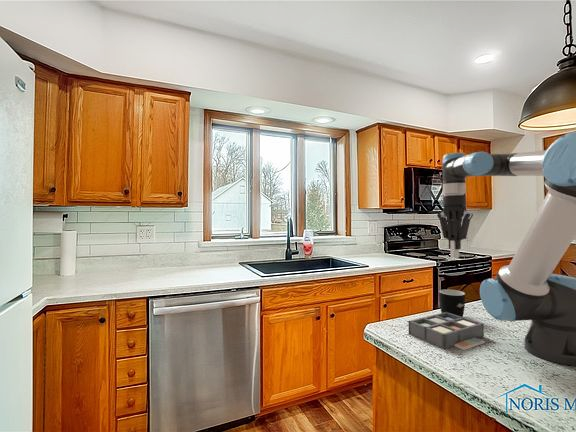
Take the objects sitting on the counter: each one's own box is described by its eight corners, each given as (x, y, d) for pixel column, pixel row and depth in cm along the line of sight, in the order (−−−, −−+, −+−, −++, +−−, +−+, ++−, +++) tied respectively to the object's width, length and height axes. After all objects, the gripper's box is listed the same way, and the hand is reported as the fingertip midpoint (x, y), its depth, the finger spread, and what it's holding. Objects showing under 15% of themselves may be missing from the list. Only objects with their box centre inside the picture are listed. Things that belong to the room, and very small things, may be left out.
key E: (436, 333, 101) (436, 327, 101) (426, 335, 99) (426, 329, 99) (424, 328, 105) (424, 322, 105) (415, 330, 103) (415, 325, 103)
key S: (452, 337, 95) (452, 330, 95) (443, 339, 93) (443, 333, 93) (440, 332, 99) (440, 326, 99) (430, 334, 97) (430, 328, 97)
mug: (458, 323, 112) (458, 296, 112) (435, 317, 119) (434, 291, 119) (473, 317, 119) (472, 291, 119) (449, 311, 126) (449, 287, 126)
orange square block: (464, 335, 98) (464, 329, 98) (455, 338, 96) (455, 332, 96) (451, 331, 102) (451, 325, 102) (443, 333, 100) (443, 327, 100)
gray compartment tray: (493, 340, 97) (493, 326, 97) (454, 353, 89) (453, 338, 89) (446, 323, 112) (446, 312, 112) (408, 333, 103) (408, 321, 103)
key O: (476, 330, 101) (476, 324, 101) (467, 332, 99) (467, 326, 99) (463, 325, 105) (463, 320, 105) (454, 328, 103) (454, 322, 103)
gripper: (477, 194, 109) (478, 259, 109) (444, 196, 121) (445, 255, 121) (464, 193, 106) (465, 261, 106) (432, 196, 117) (432, 256, 117)
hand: (454, 257), depth 113 cm, fingers closed
